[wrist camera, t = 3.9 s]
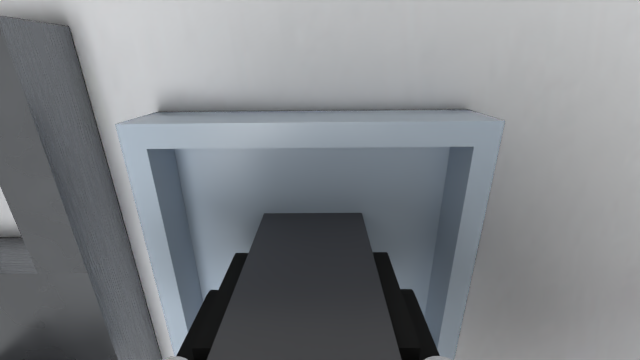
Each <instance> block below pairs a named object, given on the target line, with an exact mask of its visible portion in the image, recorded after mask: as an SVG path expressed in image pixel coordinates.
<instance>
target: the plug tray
mask: <svg viewBox="0 0 640 360" xmlns="http://www.w3.org/2000/svg"><path fill="white" fill-rule="evenodd" d="M504 124H505V121H504V120H500V119H497V118H494V117H491V116H487V115H484V114H481V113H478V112H474V111H471V110H354V111H237V112H156V113H152V114H149V115H145V116H142V117H138V118H135V119H131V120H128V121H124V122H121V123H117V124H115V126H116V129H117V133H118V137H119V141H120V145H121V149H122V153H123V157H124V161H125V165H126V168H127V172H128V176H129V180H130V184H131V188H132V192H133V196H134V200H135V204H136V207H137V211H138V215H139V219H140V223H141V227H142V231H143V235H144V239H145V243H146V246H147V250H148V254H149V258H150V262H151V266H152V270H153V274H154V278H155V282H156V285H157V289H158V293H159V297H160V301H161V305H162V309H163V313H164V317H165V320H166V324H167V328H168V332H169V336H170V340H171V344H172V348H173V352H174V356H177V354H178V351H179V349H180V347H181V345H182V343H183V341H184V339H185V337H186V335H187V333H188V331H189V329H190V327H191V325H192V323H193V321H194V319H195V317H196V315H197V313H198V311H199V309H200V307H201V305H202V303H203V301H204V299H205V297H206V295H207V294H208V292H209V291H210V290H219V287H220V285H221V283H222V281H223V279H224V277H225V274H226V272H227V270H228V268H229V266H230V263H231V261H232V259H233V257H234V255H235V253H249V251H250V248H251V245H252V243H253V240H254V238H255V235H256V233H257V230H258V228H259V225H260V222H261V220H262V217H263V215H264V213H362V215H363V219H364V223H365V226H366V230H367V234H368V237H369V241H370V245H371V249H372V252H387V253H388V255H389V258H390V261H391V264H392V267H393V270H394V272H395V275H396V278H397V281H398V284H399V287H400V289H412V290H413V291H414V293H415V296H416V298H417V301H418V303H419V305H420V308H421V310H422V313H423V315H424V318H425V320H426V323H427V325H428V328H429V330H430V333H431V335H432V338H433V340H434V343H435V345H436V347H437V350H438V352H439V355H440V356H443V357H447V358H450V359H452V360H454V358H455V353H456V349H457V344H458V339H459V335H460V330H461V325H462V321H463V316H464V311H465V307H466V302H467V297H468V293H469V288H470V283H471V278H472V274H473V269H474V264H475V260H476V255H477V250H478V246H479V241H480V236H481V232H482V227H483V222H484V218H485V213H486V208H487V203H488V199H489V194H490V189H491V185H492V180H493V175H494V171H495V166H496V161H497V157H498V152H499V147H500V143H501V138H502V133H503V128H504Z"/></svg>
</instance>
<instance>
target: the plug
mask: <svg viewBox="0 0 640 360" xmlns="http://www.w3.org/2000/svg"><path fill="white" fill-rule="evenodd" d="M207 360H402V359H401V356H400V352H399V348H398V345H397V341H396V337H395V334H394V330H393V326H392V322H391V319H390V315H389V311H388V308H387V304H386V300H385V297H384V293H383V289H382V285H381V282H380V278H379V274H378V271H377V267H376V263H375V260H374V256H373V252H372V249H371V245H370V241H369V237H368V234H367V230H366V226H365V223H364V219H363V215H362V213H264V215H263V217H262V220H261V222H260V225H259V228H258V230H257V233H256V235H255V238H254V240H253V243H252V245H251V248H250V251H249V253H248V256H247V258H246V261H245V263H244V266H243V268H242V271H241V274H240V276H239V279H238V281H237V284H236V286H235V289H234V291H233V294H232V296H231V299H230V302H229V304H228V307H227V309H226V312H225V314H224V317H223V319H222V322H221V325H220V327H219V330H218V332H217V335H216V337H215V340H214V342H213V345H212V348H211V350H210V353H209V355H208V358H207Z"/></svg>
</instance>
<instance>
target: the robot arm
mask: <svg viewBox="0 0 640 360" xmlns="http://www.w3.org/2000/svg"><path fill="white" fill-rule="evenodd" d="M247 256H248V253H235V255H234V257H233V259H232V261H231V263H230V266H229V268H228V270H227V272H226V274H225V277H224V279H223V281H222V283H221V285H220V287H219V290H210V291H209V292H208V294H207V295H206V297H205V299H204V301H203V303H202V305H201V307H200V309H199V311H198V313H197V315H196V317H195V319H194V321H193V323H192V325H191V327H190V329H189V331H188V333H187V335H186V337H185V339H184V341H183V343H182V345H181V347H180V349H179V351H178V354H177V356H174V357H168V358H164V359H162V360H207V358H208V355H209V353H210V350H211V348H212V345H213V342H214V340H215V337H216V335H217V332H218V330H219V327H220V325H221V322H222V319H223V317H224V314H225V312H226V309H227V307H228V304H229V302H230V299H231V296H232V294H233V291H234V289H235V286H236V284H237V281H238V279H239V276H240V274H241V271H242V268H243V266H244V263H245V261H246V258H247ZM373 256H374V260H375V263H376V267H377V271H378V274H379V278H380V282H381V285H382V289H383V293H384V297H385V300H386V304H387V308H388V311H389V315H390V319H391V322H392V326H393V330H394V334H395V337H396V341H397V345H398V348H399V352H400V356H401V359H402V360H452V359H450V358H447V357H443V356H440V355H439V352H438V350H437V347H436V345H435V343H434V340H433V338H432V335H431V333H430V330H429V328H428V325H427V323H426V320H425V318H424V315H423V313H422V310H421V308H420V305H419V303H418V301H417V298H416V296H415V293H414V291H413V290H412V289H400V287H399V284H398V281H397V278H396V275H395V272H394V270H393V267H392V264H391V261H390V258H389V255H388V253H387V252H373Z"/></svg>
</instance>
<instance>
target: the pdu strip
mask: <svg viewBox="0 0 640 360" xmlns="http://www.w3.org/2000/svg"><path fill="white" fill-rule="evenodd" d="M0 187H1V189H2V191H3V194H4V196H5V198H6V201H7V203H8V205H9V208H10V210H11V212H12V215H13V217H14V219H15V222H16V224H17V226H18V229H19V231H20V233H21V236H22V238H0V360H162V358H161V355H160V351H159V348H158V344H157V341H156V337H155V333H154V330H153V326H152V323H151V319H150V316H149V312H148V308H147V305H146V301H145V298H144V294H143V291H142V287H141V283H140V280H139V276H138V273H137V269H136V265H135V262H134V258H133V255H132V251H131V248H130V244H129V240H128V237H127V233H126V230H125V226H124V223H123V219H122V215H121V212H120V208H119V205H118V201H117V198H116V194H115V190H114V187H113V183H112V180H111V176H110V172H109V169H108V165H107V162H106V158H105V155H104V151H103V147H102V144H101V140H100V137H99V133H98V130H97V126H96V122H95V119H94V115H93V112H92V108H91V105H90V101H89V97H88V94H87V90H86V87H85V83H84V79H83V76H82V72H81V69H80V65H79V62H78V58H77V54H76V51H75V47H74V44H73V40H72V37H71V33H70V29H69V26H63V25H57V24H50V23H44V22H37V21H31V20H24V19H17V18H11V17H4V16H0Z"/></svg>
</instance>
